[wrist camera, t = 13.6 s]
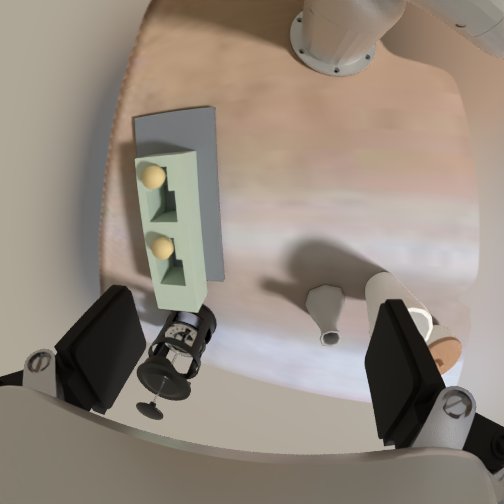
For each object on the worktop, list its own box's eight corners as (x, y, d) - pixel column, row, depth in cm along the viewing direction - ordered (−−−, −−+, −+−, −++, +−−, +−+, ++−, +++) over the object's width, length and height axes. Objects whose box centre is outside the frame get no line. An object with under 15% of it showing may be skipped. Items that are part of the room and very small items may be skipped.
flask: (305, 319, 49) (306, 357, 40) (303, 285, 47) (305, 322, 38) (344, 316, 48) (352, 353, 39) (345, 282, 45) (356, 317, 36)
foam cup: (385, 316, 47) (404, 365, 35) (346, 299, 47) (359, 349, 35) (414, 276, 43) (444, 319, 31) (375, 254, 43) (401, 298, 31)
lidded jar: (404, 359, 51) (415, 391, 43) (405, 324, 47) (419, 357, 39) (445, 345, 48) (460, 374, 40) (450, 309, 45) (469, 338, 36)
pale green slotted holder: (154, 154, 39) (134, 158, 34) (196, 150, 39) (181, 154, 33) (171, 289, 49) (158, 308, 44) (207, 292, 48) (197, 312, 43)
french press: (200, 291, 50) (150, 388, 29) (228, 328, 53) (197, 429, 32) (156, 311, 54) (102, 396, 33) (184, 344, 56) (144, 431, 35)
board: (138, 118, 38) (106, 118, 30) (215, 107, 37) (195, 101, 28) (157, 274, 50) (134, 300, 42) (224, 278, 48) (211, 308, 40)
